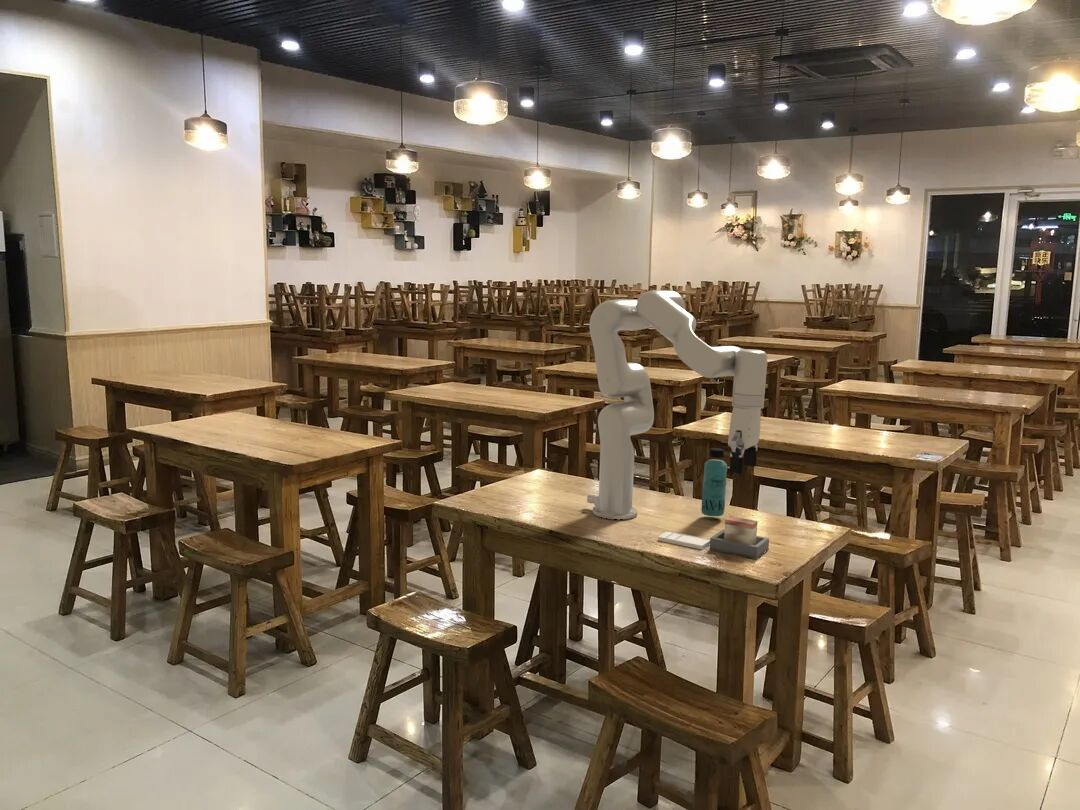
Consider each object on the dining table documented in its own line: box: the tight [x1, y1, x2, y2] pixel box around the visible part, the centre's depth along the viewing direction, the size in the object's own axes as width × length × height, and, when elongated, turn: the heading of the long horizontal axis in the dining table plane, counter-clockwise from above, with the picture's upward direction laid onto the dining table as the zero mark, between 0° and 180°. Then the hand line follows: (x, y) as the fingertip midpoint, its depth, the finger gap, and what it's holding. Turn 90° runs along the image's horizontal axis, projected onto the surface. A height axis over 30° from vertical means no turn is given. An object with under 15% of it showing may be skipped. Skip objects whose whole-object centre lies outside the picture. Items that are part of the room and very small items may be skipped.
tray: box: [709, 528, 770, 560], centre depth 212 cm, size 12×9×3 cm
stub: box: [724, 515, 759, 546], centre depth 212 cm, size 7×4×7 cm, turn 57°
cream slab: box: [657, 530, 710, 550], centre depth 218 cm, size 12×6×1 cm, turn 58°
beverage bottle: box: [700, 447, 728, 517], centre depth 238 cm, size 6×7×20 cm
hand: (742, 469), depth 210 cm, fingers open, 9 cm apart
